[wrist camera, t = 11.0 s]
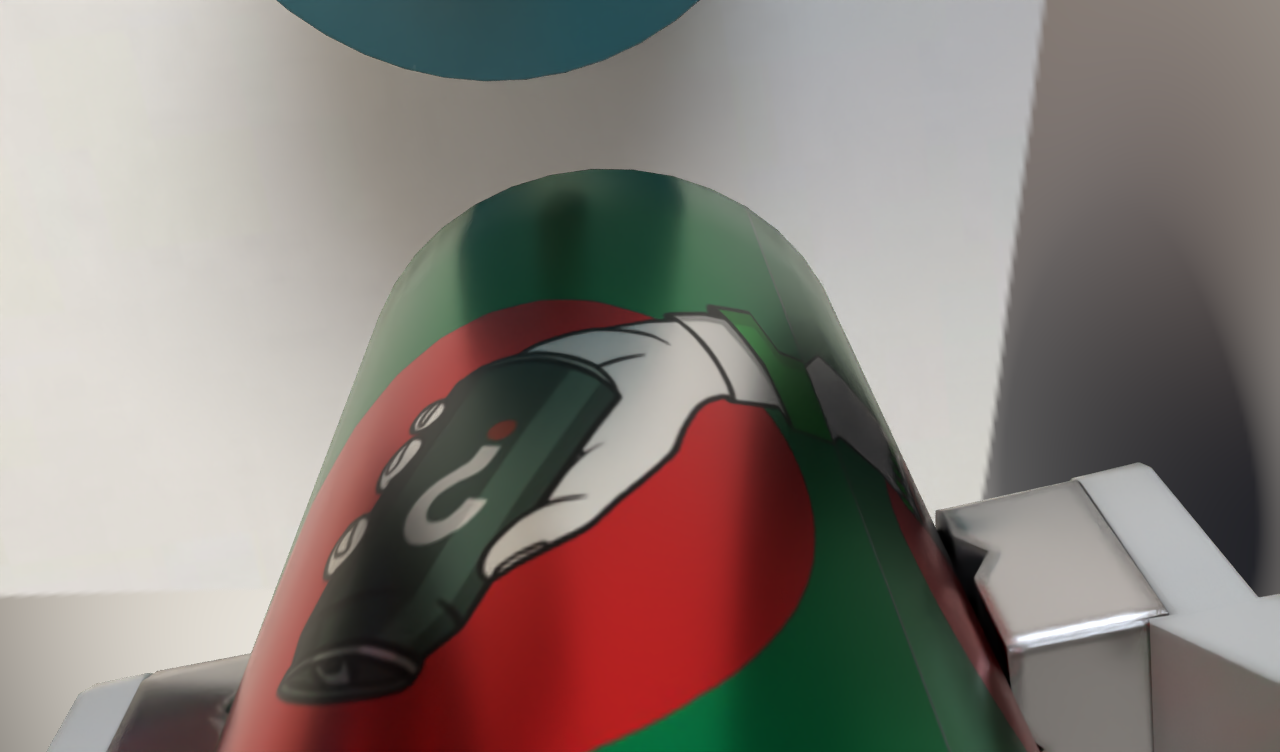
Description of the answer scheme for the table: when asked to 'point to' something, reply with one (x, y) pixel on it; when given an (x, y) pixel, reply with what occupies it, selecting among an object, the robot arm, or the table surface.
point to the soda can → (616, 510)
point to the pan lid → (489, 32)
